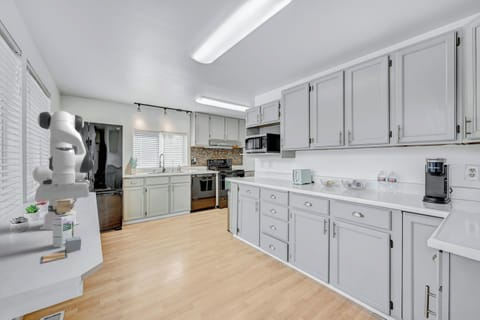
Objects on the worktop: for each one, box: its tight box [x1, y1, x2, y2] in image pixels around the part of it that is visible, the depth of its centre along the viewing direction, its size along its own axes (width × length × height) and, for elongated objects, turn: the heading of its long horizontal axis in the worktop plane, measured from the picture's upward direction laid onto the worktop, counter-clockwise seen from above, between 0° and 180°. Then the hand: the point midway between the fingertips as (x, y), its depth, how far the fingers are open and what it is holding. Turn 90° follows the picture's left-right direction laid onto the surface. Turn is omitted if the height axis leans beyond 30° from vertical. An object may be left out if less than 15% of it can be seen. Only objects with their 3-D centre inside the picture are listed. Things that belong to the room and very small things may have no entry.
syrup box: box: [52, 214, 75, 248], centre depth 102 cm, size 6×6×14 cm
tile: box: [39, 250, 68, 265], centre depth 89 cm, size 8×8×1 cm
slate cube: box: [64, 236, 82, 254], centre depth 97 cm, size 5×5×5 cm
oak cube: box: [57, 200, 71, 213], centre depth 102 cm, size 5×5×5 cm
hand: (63, 208), depth 102 cm, fingers closed on oak cube, 5 cm apart
